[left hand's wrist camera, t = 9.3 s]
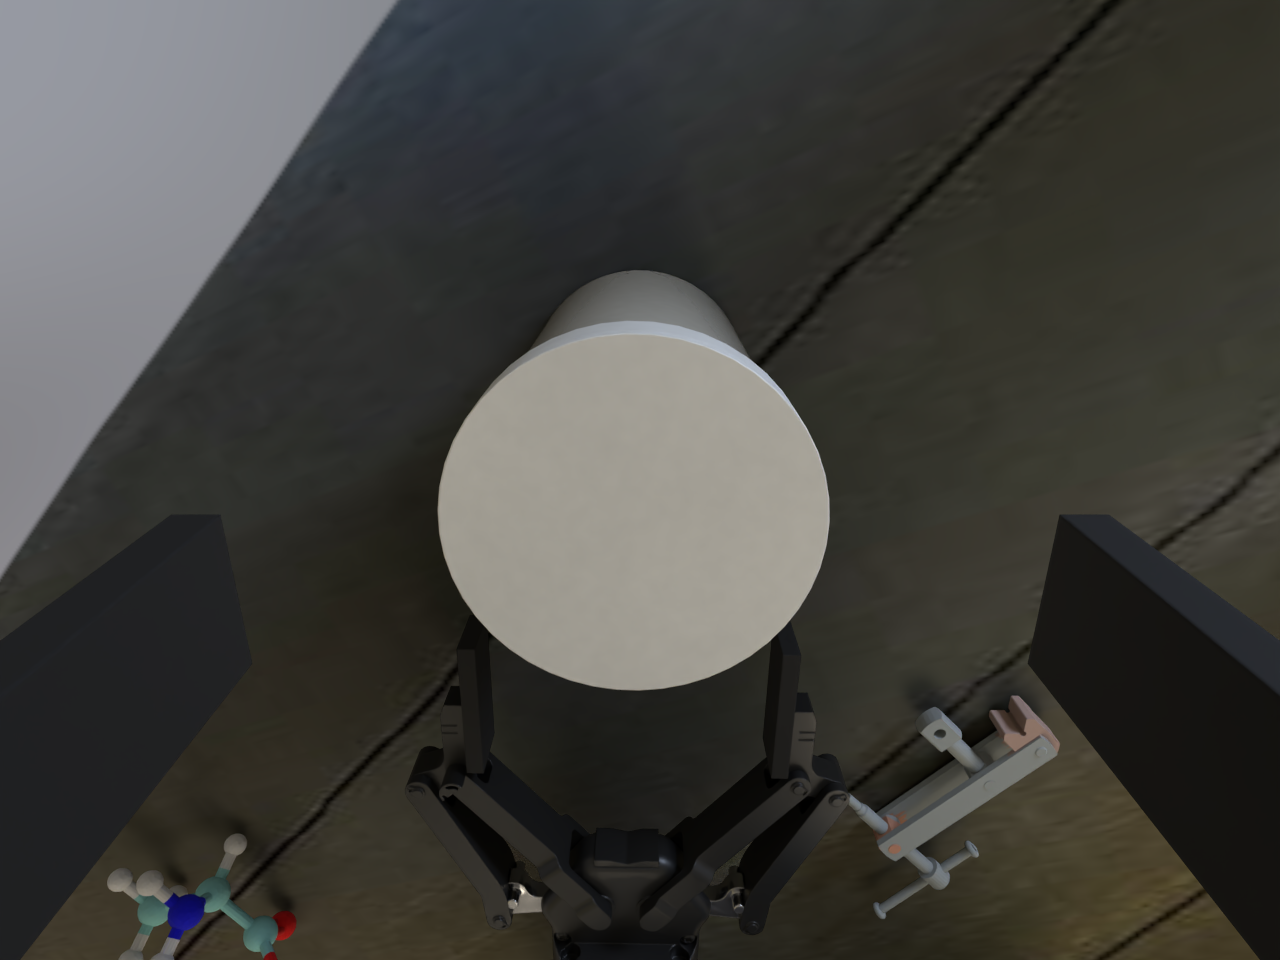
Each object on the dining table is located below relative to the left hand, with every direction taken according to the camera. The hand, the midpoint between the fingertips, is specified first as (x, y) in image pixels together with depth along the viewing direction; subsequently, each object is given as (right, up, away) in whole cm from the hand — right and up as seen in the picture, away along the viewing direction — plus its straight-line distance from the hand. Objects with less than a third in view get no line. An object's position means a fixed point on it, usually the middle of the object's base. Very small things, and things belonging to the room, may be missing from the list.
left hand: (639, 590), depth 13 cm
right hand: (0, -5, +21) cm, 22 cm away
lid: (0, +1, +9) cm, 9 cm away
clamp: (+17, -16, +33) cm, 40 cm away
